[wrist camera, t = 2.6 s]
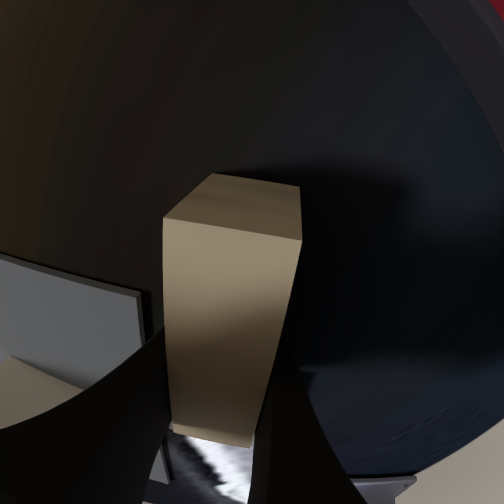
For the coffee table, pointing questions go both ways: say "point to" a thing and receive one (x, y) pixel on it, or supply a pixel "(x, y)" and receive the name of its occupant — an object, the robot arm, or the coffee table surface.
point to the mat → (69, 326)
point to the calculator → (472, 48)
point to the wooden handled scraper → (226, 301)
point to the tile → (29, 392)
